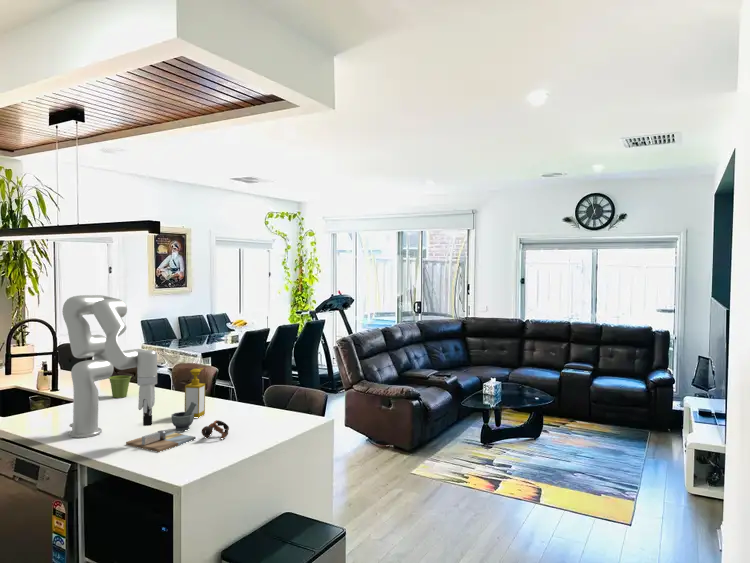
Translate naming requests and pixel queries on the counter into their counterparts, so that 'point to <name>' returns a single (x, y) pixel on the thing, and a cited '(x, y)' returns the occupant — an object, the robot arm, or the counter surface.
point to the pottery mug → (208, 429)
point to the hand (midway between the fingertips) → (147, 425)
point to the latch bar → (154, 437)
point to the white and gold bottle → (195, 394)
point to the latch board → (162, 442)
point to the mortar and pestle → (183, 418)
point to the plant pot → (119, 386)
